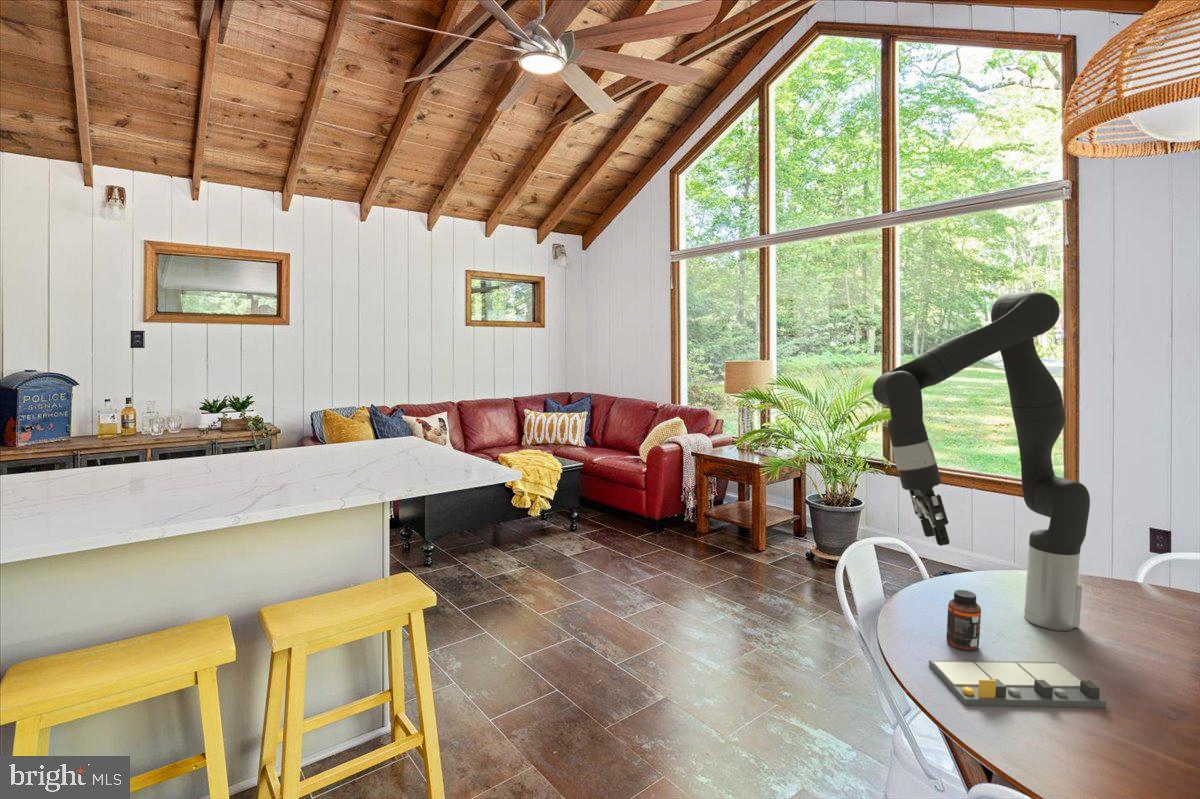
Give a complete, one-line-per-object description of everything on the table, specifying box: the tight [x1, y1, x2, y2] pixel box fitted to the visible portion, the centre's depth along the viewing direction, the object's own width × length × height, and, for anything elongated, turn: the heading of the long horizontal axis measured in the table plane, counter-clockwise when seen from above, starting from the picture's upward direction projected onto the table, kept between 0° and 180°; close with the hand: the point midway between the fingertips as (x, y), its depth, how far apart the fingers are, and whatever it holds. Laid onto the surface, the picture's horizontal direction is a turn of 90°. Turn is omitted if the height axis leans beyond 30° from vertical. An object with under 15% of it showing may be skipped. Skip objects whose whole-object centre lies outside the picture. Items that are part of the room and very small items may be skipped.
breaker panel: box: [928, 659, 1107, 709], centre depth 113 cm, size 24×13×4 cm, turn 87°
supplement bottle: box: [946, 589, 982, 652], centre depth 128 cm, size 6×6×11 cm
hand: (937, 540), depth 127 cm, fingers open, 8 cm apart
